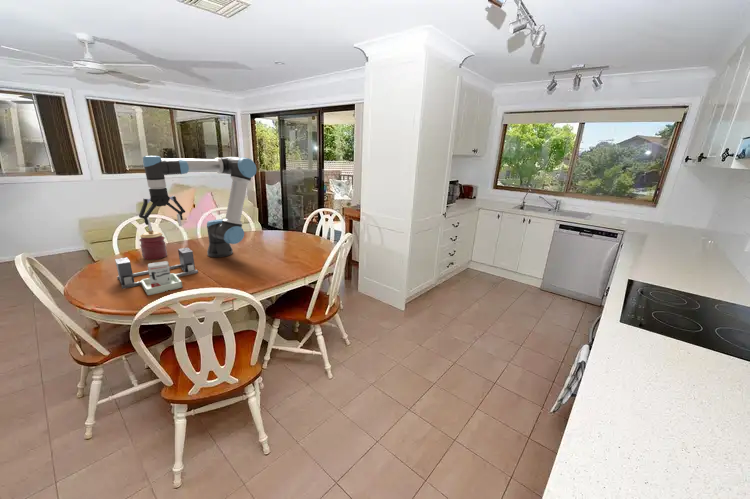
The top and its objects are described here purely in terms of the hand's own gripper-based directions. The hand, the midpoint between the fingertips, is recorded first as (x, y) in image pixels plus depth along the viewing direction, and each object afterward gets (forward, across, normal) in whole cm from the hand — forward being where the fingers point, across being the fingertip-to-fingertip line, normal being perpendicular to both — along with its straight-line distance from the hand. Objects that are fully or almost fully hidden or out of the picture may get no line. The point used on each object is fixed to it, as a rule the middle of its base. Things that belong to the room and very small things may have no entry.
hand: (166, 228), depth 163 cm
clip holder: (+26, +7, -2) cm, 27 cm away
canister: (+27, 0, -38) cm, 47 cm away
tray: (+26, +10, +13) cm, 31 cm away
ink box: (+26, +10, +13) cm, 30 cm away
